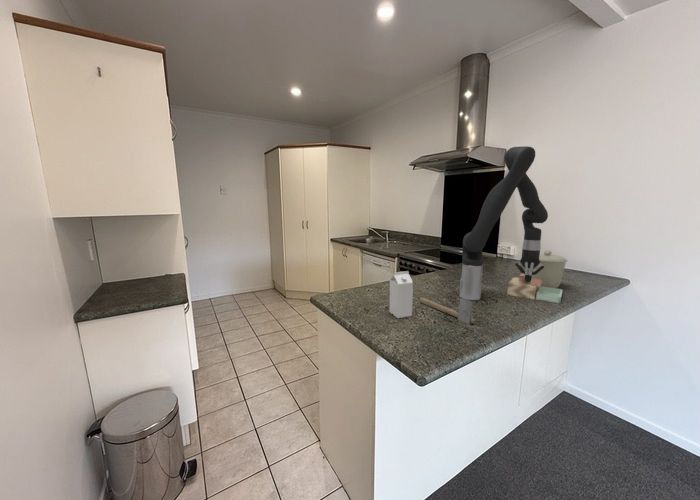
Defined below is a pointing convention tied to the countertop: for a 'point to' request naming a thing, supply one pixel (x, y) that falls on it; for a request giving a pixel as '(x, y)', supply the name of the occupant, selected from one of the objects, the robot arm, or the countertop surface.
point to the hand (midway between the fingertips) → (527, 281)
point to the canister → (550, 269)
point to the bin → (549, 294)
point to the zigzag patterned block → (522, 289)
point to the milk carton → (401, 294)
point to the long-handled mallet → (462, 315)
